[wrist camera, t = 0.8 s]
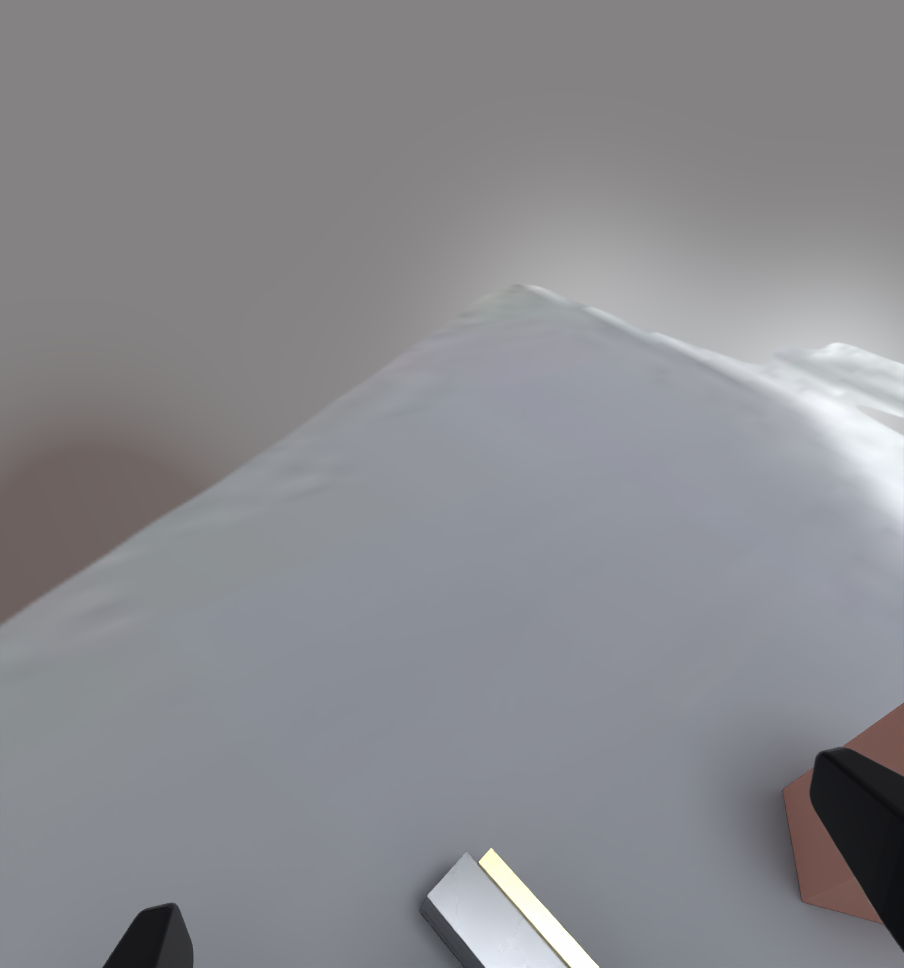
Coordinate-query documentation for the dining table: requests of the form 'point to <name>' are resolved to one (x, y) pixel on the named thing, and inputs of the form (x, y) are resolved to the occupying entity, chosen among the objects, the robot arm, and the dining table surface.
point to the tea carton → (819, 863)
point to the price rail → (497, 920)
